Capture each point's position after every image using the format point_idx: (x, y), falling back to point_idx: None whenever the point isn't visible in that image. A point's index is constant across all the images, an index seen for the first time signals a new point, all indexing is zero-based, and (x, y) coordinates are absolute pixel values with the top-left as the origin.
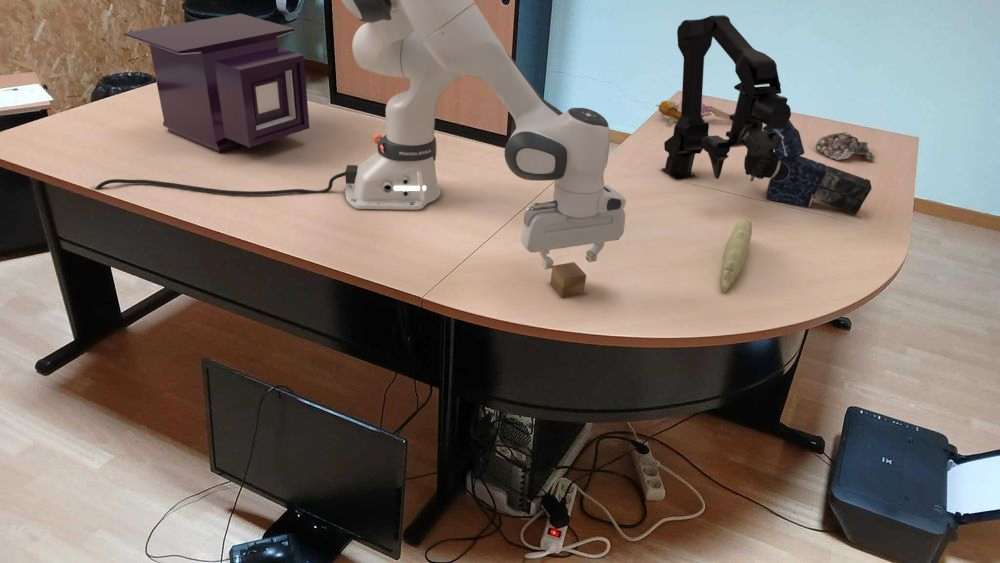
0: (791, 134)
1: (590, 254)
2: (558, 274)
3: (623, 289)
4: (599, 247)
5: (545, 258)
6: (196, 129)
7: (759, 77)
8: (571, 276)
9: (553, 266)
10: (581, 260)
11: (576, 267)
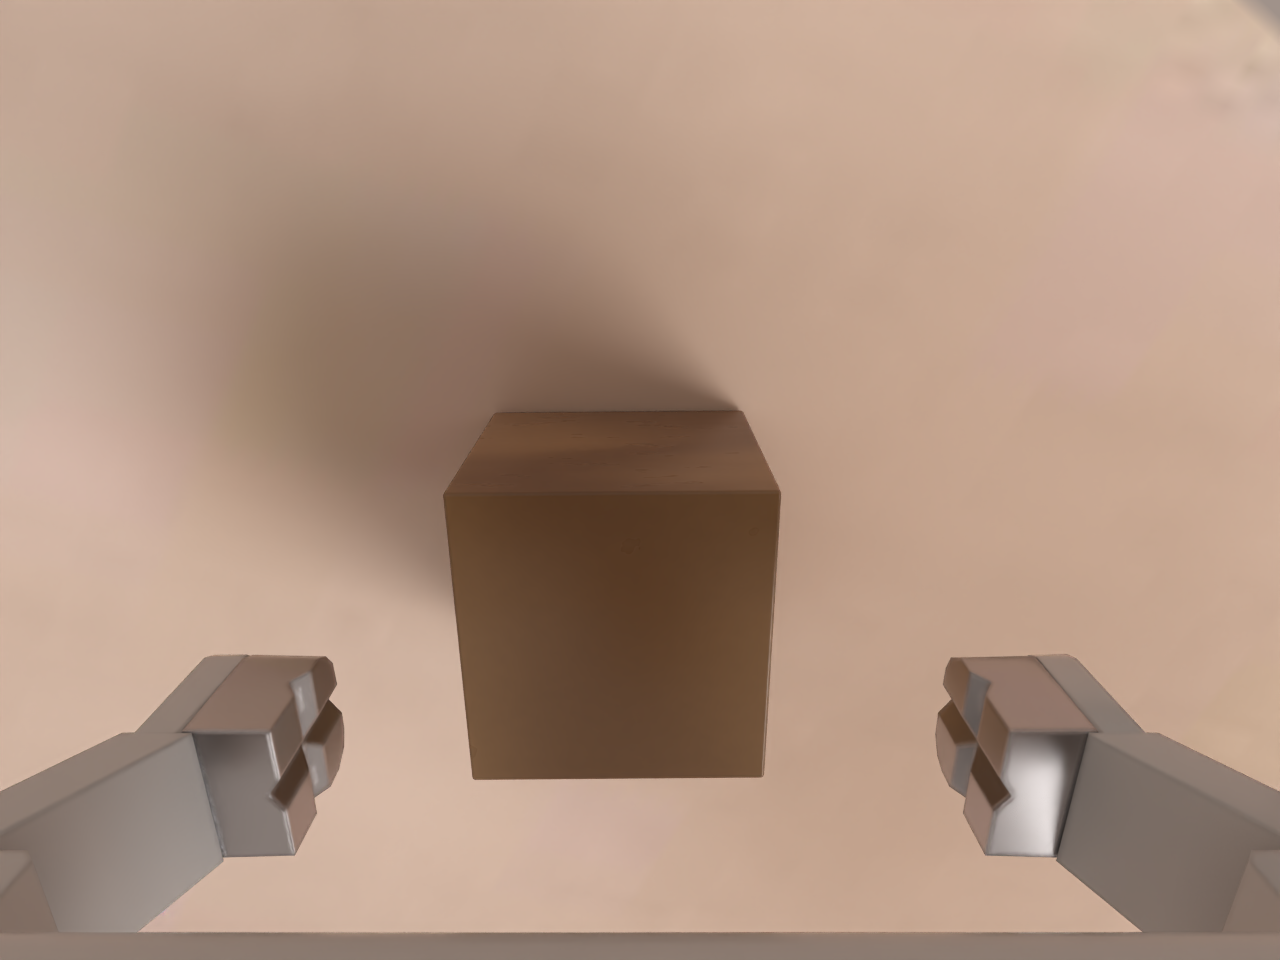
0: None
1: (266, 751)
2: (771, 617)
3: (49, 369)
4: (10, 833)
5: (1238, 783)
6: None
7: None
8: (657, 516)
9: (759, 760)
10: (299, 870)
11: (497, 677)
